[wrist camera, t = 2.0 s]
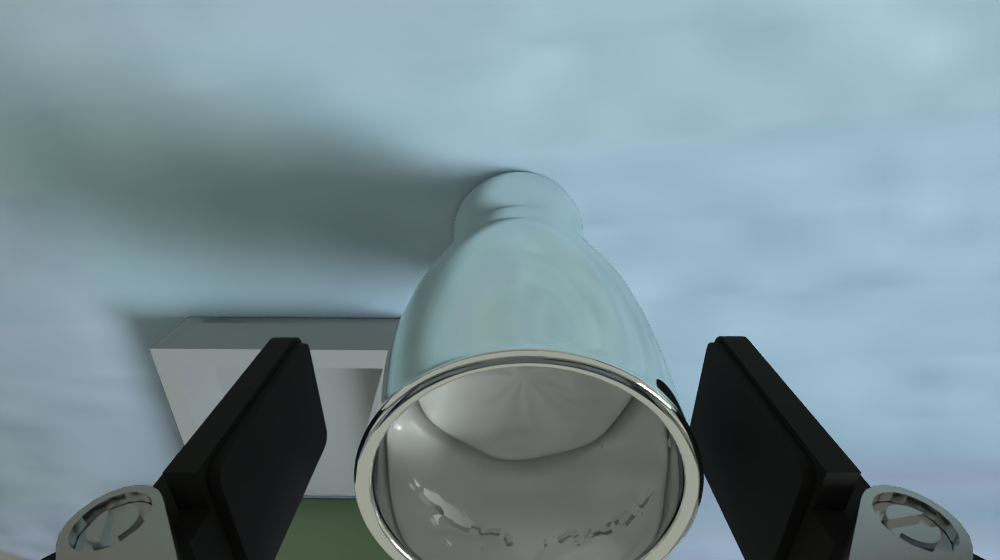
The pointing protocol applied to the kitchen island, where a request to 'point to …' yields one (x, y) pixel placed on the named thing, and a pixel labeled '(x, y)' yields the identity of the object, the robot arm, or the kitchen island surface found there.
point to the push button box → (344, 398)
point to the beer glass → (526, 401)
